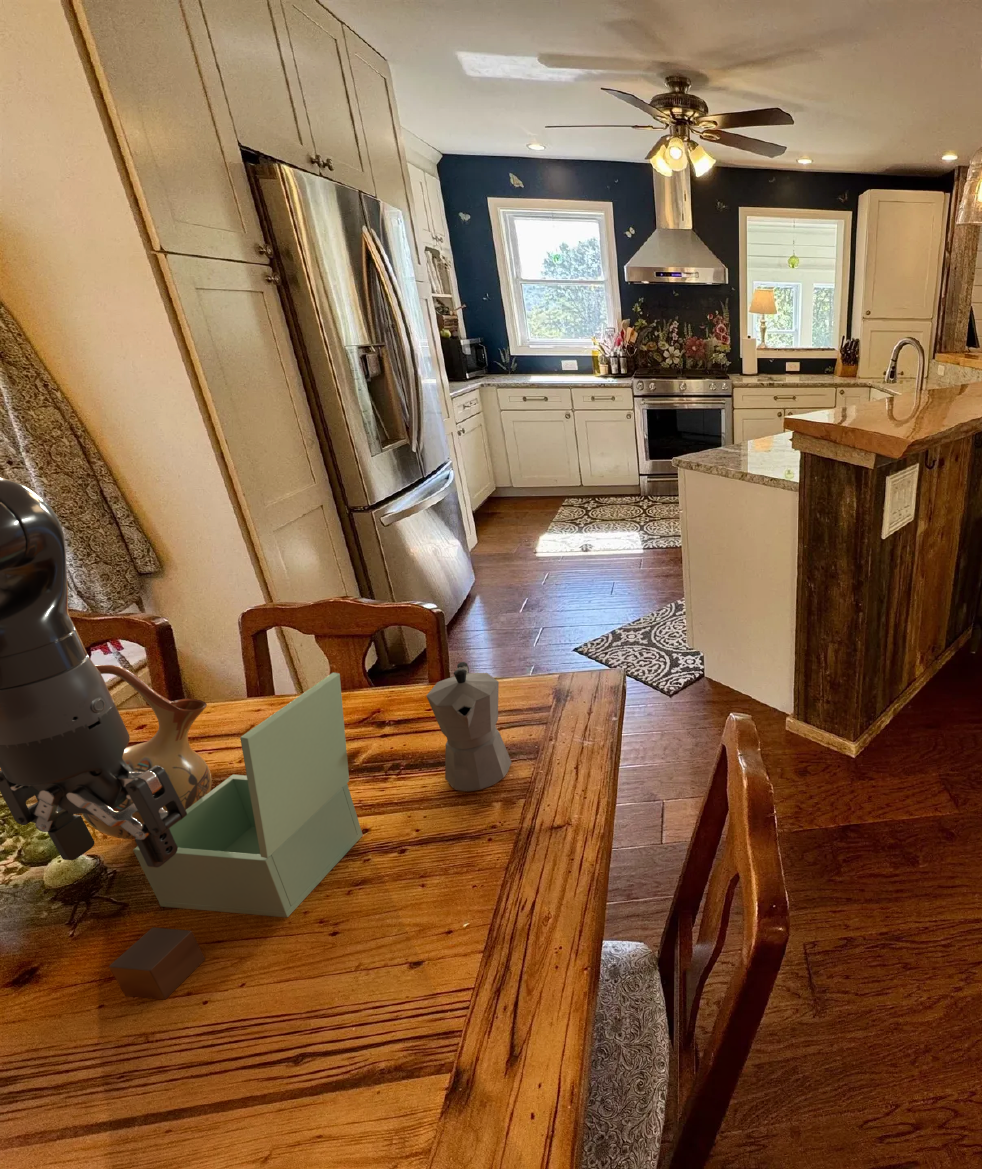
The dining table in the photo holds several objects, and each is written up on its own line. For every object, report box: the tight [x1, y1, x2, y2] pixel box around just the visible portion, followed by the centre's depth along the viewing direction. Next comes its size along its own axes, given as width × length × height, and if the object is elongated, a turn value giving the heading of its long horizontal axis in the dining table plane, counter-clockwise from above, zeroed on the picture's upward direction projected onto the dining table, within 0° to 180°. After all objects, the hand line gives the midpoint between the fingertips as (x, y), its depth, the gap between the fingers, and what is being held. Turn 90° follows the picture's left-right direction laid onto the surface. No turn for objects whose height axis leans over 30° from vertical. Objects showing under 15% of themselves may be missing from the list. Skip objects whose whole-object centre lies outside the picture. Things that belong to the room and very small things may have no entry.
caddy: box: [132, 774, 364, 918], centre depth 76 cm, size 16×13×9 cm
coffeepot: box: [426, 661, 513, 792], centre depth 93 cm, size 15×9×18 cm, turn 26°
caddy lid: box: [239, 672, 350, 858], centre depth 70 cm, size 16×13×1 cm
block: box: [108, 926, 206, 1000], centre depth 64 cm, size 4×4×4 cm
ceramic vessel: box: [81, 664, 213, 841], centre depth 78 cm, size 16×9×25 cm, turn 131°
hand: (122, 856), depth 59 cm, fingers open, 8 cm apart
